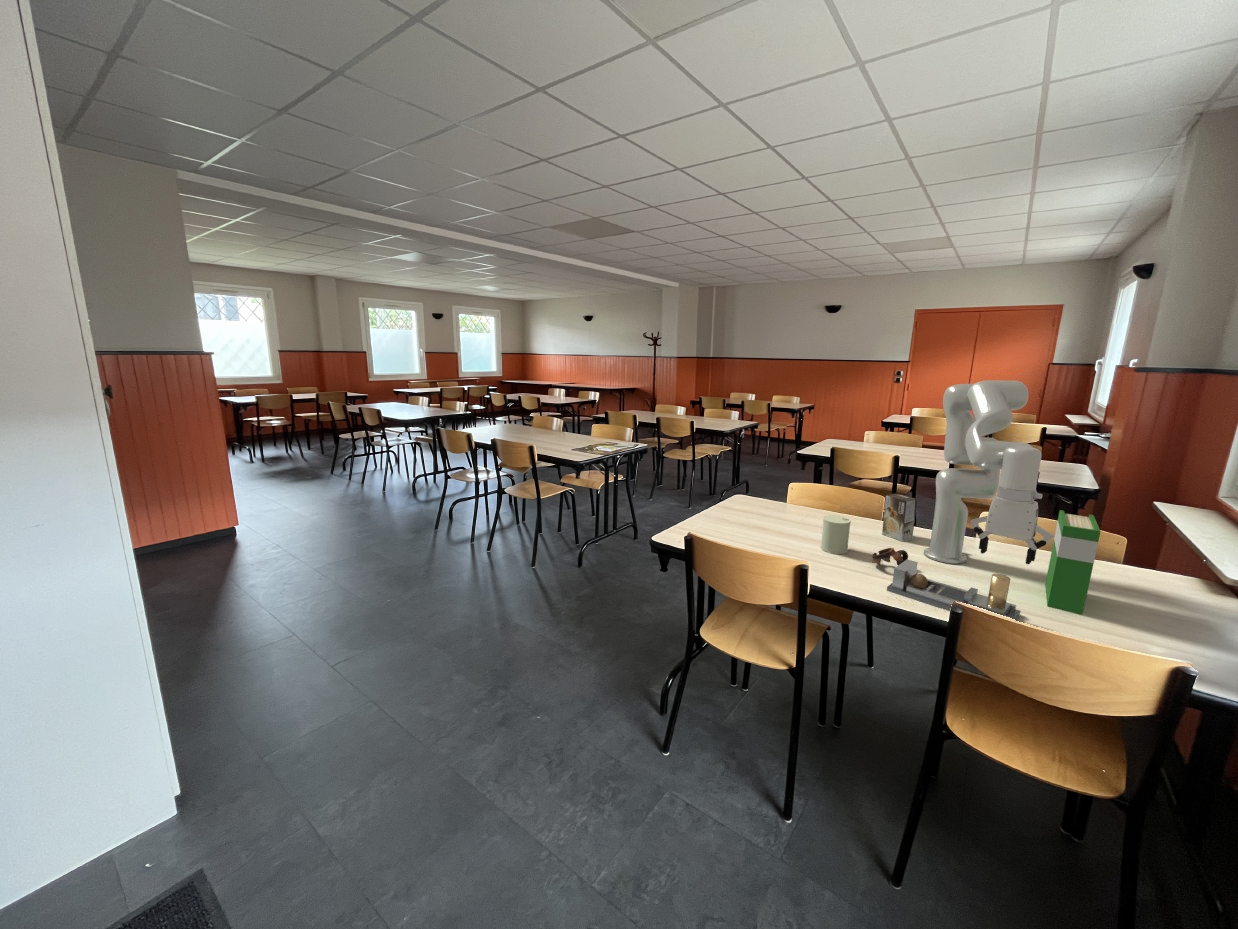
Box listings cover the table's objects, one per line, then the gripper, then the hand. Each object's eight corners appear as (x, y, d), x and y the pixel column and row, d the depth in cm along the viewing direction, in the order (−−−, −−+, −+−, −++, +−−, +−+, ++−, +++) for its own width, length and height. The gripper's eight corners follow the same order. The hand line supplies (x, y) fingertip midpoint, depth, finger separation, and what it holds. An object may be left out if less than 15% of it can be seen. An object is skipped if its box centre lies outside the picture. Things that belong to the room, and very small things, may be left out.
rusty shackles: (894, 580, 160) (883, 555, 162) (873, 580, 169) (862, 557, 170) (921, 565, 164) (909, 541, 165) (899, 566, 173) (887, 544, 174)
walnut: (912, 583, 154) (914, 570, 153) (928, 588, 151) (930, 574, 150) (907, 587, 151) (909, 574, 150) (923, 592, 148) (925, 579, 147)
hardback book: (1045, 584, 156) (1059, 510, 151) (1077, 591, 152) (1093, 514, 147) (1047, 606, 143) (1063, 525, 137) (1082, 614, 138) (1100, 531, 133)
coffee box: (913, 539, 194) (918, 499, 191) (902, 541, 191) (907, 501, 188) (891, 531, 202) (896, 493, 199) (880, 534, 200) (885, 494, 196)
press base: (902, 578, 160) (904, 557, 158) (1019, 614, 138) (1024, 590, 136) (886, 590, 152) (889, 568, 151) (1008, 630, 130) (1013, 604, 129)
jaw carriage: (970, 598, 144) (975, 565, 142) (1009, 610, 138) (1015, 576, 135) (962, 606, 140) (967, 572, 137) (1002, 619, 133) (1009, 584, 131)
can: (852, 554, 179) (855, 522, 177) (826, 554, 180) (829, 521, 177) (841, 544, 188) (844, 514, 186) (816, 544, 189) (819, 513, 186)
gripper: (1062, 498, 126) (1050, 563, 129) (979, 486, 139) (971, 545, 142) (1056, 504, 121) (1044, 571, 124) (971, 490, 134) (962, 551, 137)
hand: (1005, 557), depth 133 cm, fingers open, 9 cm apart
